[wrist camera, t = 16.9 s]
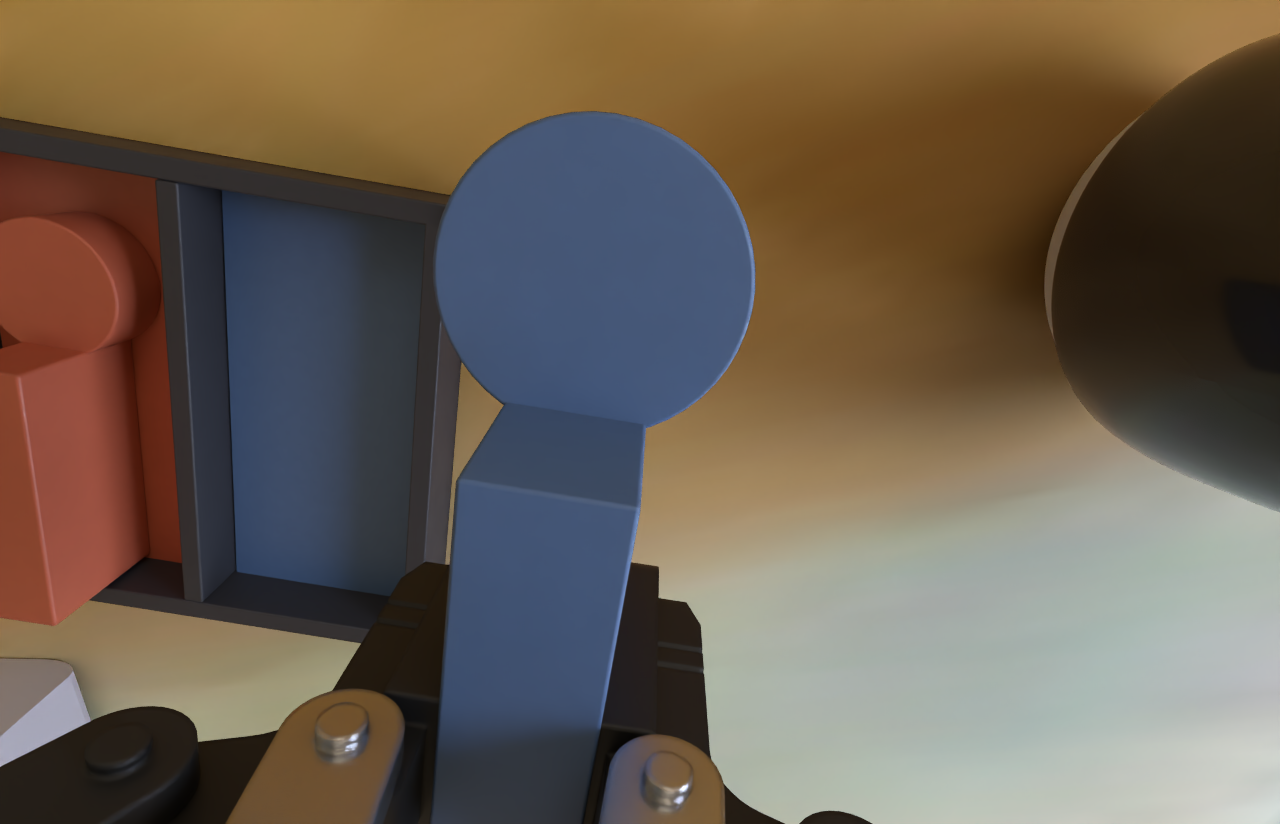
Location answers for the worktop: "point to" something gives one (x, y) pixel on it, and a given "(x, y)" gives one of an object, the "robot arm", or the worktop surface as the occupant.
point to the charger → (37, 704)
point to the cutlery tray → (269, 376)
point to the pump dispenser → (1182, 279)
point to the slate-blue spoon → (566, 430)
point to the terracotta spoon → (70, 410)
